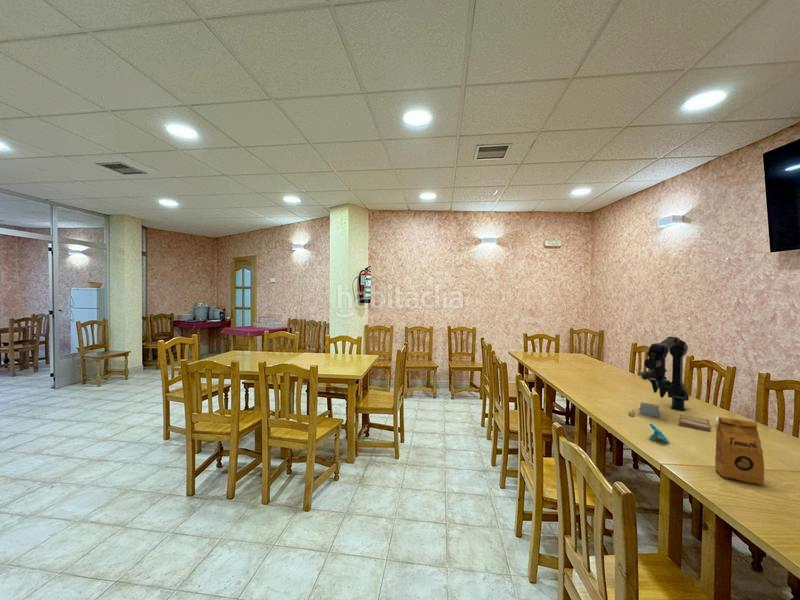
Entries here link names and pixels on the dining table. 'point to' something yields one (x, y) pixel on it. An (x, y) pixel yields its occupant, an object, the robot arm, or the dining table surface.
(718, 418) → the cream thin sliver
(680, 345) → the robot arm
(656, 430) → the blue t-shaped bar
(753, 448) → the coffee package
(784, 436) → the dining table surface
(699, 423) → the stand
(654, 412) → the housing
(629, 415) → the loose bolt
